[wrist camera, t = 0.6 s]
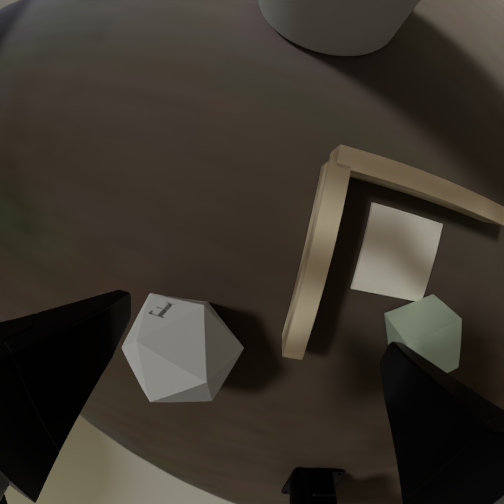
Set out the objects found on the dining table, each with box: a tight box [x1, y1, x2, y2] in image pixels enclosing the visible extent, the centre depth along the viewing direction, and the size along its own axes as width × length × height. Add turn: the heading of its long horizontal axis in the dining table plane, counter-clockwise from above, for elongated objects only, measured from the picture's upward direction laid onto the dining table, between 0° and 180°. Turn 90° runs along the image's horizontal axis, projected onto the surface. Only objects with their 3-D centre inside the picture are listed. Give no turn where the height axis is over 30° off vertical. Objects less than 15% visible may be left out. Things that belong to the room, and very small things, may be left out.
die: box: [122, 293, 244, 402], centre depth 20 cm, size 8×9×10 cm
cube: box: [384, 294, 462, 373], centre depth 20 cm, size 5×5×5 cm
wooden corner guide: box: [282, 145, 504, 360], centre depth 20 cm, size 15×16×4 cm
